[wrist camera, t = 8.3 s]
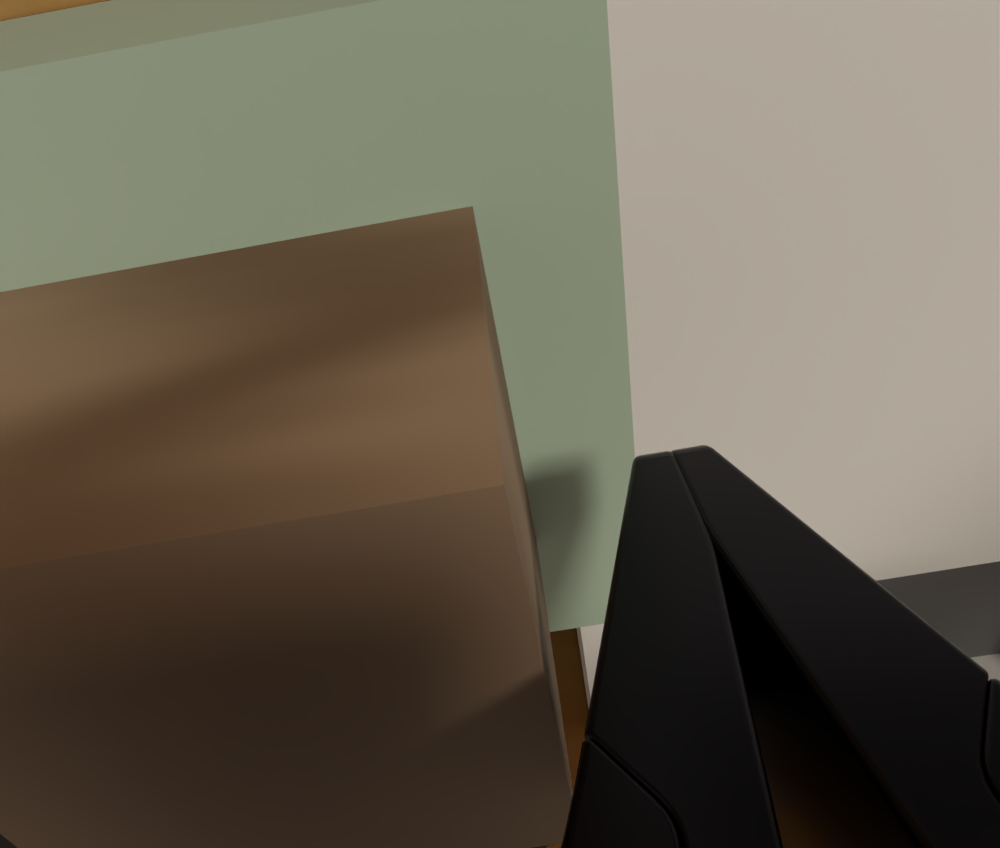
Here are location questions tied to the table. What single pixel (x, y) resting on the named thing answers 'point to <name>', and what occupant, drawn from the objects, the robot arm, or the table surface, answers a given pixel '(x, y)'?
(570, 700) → the table surface
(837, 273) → the box
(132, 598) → the walnut block
